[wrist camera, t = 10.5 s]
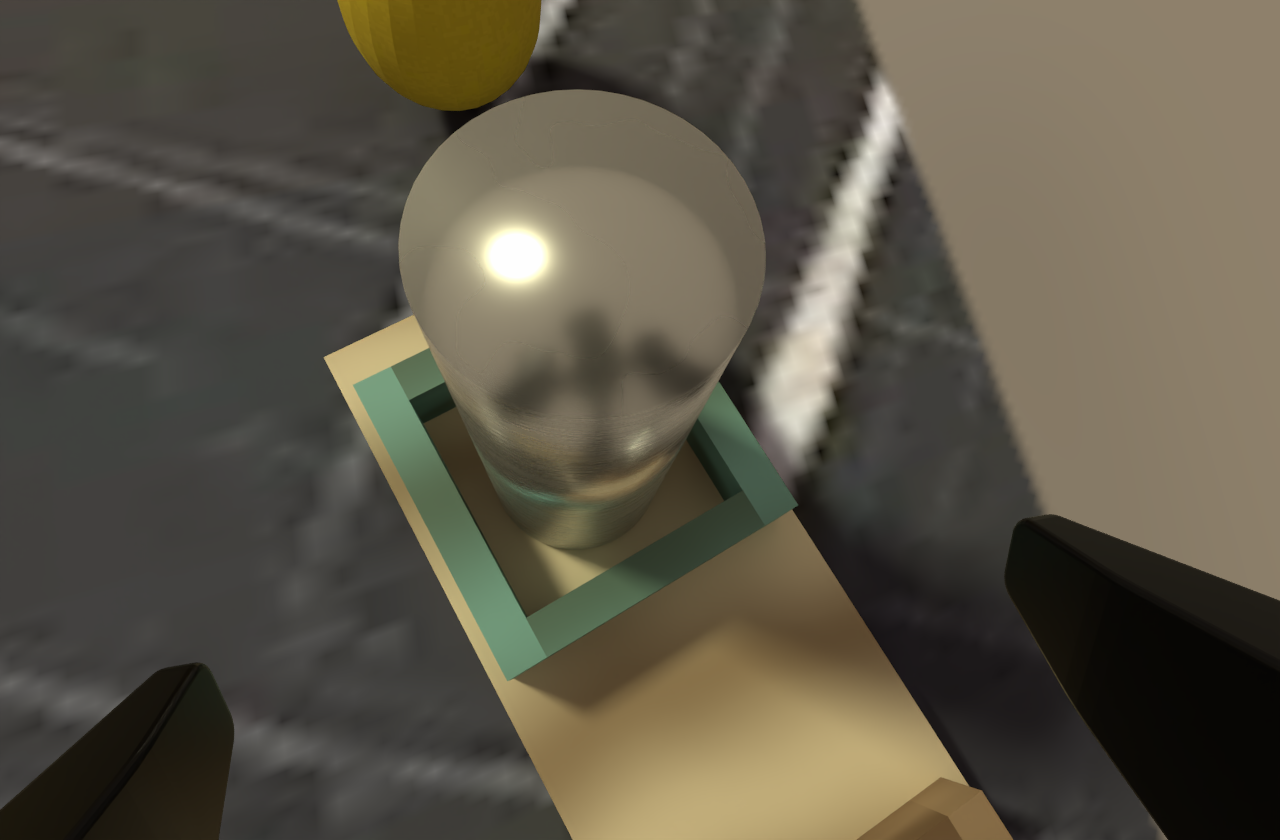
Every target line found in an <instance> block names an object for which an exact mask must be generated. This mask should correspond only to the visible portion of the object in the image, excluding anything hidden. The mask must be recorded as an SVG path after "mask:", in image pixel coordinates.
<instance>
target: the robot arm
mask: <svg viewBox="0 0 1280 840" xmlns="http://www.w3.org/2000/svg"><path fill="white" fill-rule="evenodd" d="M1004 577H1005V585H1006V589H1007V592H1008V594H1009V596H1010V598H1011V600H1012V601H1013V603H1014V605H1015V607H1016V608H1017V610H1018V612H1019V614H1020V615H1021V617H1022V619H1023V621H1024V622H1025V624H1026V626H1027V627H1028V629H1029V631H1030V633H1031V634H1032V636H1033V638H1034V640H1035V641H1036V643H1037V645H1038V647H1039V648H1040V650H1041V652H1042V653H1043V655H1044V657H1045V659H1046V660H1047V662H1048V664H1049V666H1050V667H1051V669H1052V671H1053V673H1054V674H1055V676H1056V678H1057V680H1058V681H1059V683H1060V685H1061V686H1062V688H1063V690H1064V691H1065V693H1066V695H1067V696H1068V698H1069V700H1070V701H1071V703H1072V704H1073V706H1074V708H1075V709H1076V711H1077V712H1078V714H1079V715H1080V717H1081V718H1082V719H1083V721H1084V722H1085V724H1086V725H1087V727H1088V728H1089V730H1090V731H1091V733H1092V734H1093V735H1094V737H1095V738H1096V740H1097V741H1098V742H1099V744H1100V745H1101V747H1102V748H1103V749H1104V751H1105V752H1106V754H1107V755H1108V756H1109V758H1110V759H1111V761H1112V762H1113V763H1114V765H1115V766H1116V768H1117V769H1118V770H1119V772H1120V773H1121V775H1122V776H1123V777H1124V779H1125V780H1126V782H1127V783H1128V784H1129V786H1130V787H1131V789H1132V790H1133V791H1134V793H1135V794H1136V796H1137V797H1138V798H1139V800H1140V801H1141V803H1142V804H1143V805H1144V807H1145V808H1146V810H1147V811H1148V812H1149V814H1150V815H1151V817H1152V818H1153V819H1154V821H1155V822H1156V824H1157V825H1158V826H1159V828H1160V829H1161V831H1162V832H1163V833H1164V835H1165V836H1166V838H1167V839H1168V840H1280V601H1279V600H1277V599H1274V598H1271V597H1269V596H1266V595H1264V594H1261V593H1258V592H1256V591H1253V590H1250V589H1248V588H1245V587H1243V586H1240V585H1237V584H1235V583H1232V582H1230V581H1227V580H1225V579H1222V578H1219V577H1216V576H1214V575H1211V574H1209V573H1206V572H1204V571H1201V570H1199V569H1196V568H1193V567H1191V566H1188V565H1186V564H1183V563H1180V562H1178V561H1175V560H1173V559H1170V558H1167V557H1165V556H1162V555H1160V554H1157V553H1154V552H1151V551H1149V550H1146V549H1144V548H1141V547H1139V546H1136V545H1133V544H1131V543H1128V542H1126V541H1123V540H1120V539H1118V538H1115V537H1113V536H1110V535H1107V534H1105V533H1102V532H1100V531H1097V530H1094V529H1092V528H1089V527H1087V526H1084V525H1081V524H1079V523H1076V522H1073V521H1071V520H1068V519H1066V518H1063V517H1061V516H1058V515H1052V514H1049V515H1042V516H1036V517H1030V518H1025V519H1022V520H1020V521H1019V522H1018V523H1017V524H1016V525H1015V527H1014V530H1013V534H1012V539H1011V544H1010V548H1009V553H1008V558H1007V563H1006V568H1005V574H1004ZM233 742H234V724H233V719H232V716H231V713H230V711H229V709H228V707H227V705H226V702H225V700H224V698H223V696H222V694H221V692H220V689H219V687H218V685H217V683H216V681H215V679H214V676H213V674H212V672H211V671H210V669H209V668H208V667H207V666H206V665H205V664H203V663H190V664H184V665H179V666H173V667H167V668H164V669H161V670H159V671H157V672H156V673H154V674H153V675H152V676H150V677H149V678H148V679H147V680H146V681H145V682H144V683H143V684H141V685H140V686H139V687H138V688H137V689H136V690H135V691H134V692H132V693H131V694H130V695H129V696H128V697H127V698H126V699H125V700H123V701H122V702H121V703H120V704H119V705H118V706H117V707H116V708H114V709H113V710H112V711H111V712H110V713H109V714H108V715H107V716H105V717H104V718H103V719H102V720H101V721H100V722H99V723H98V724H96V725H95V726H94V727H93V728H92V729H91V730H90V731H88V732H87V733H86V734H85V735H84V736H83V737H82V738H81V739H79V740H78V741H77V742H76V743H75V744H74V745H73V746H72V747H70V748H69V749H68V750H67V751H66V752H65V753H64V754H63V755H61V756H60V757H59V758H58V759H57V760H56V761H55V762H54V763H52V764H51V765H50V766H49V767H48V768H47V769H46V770H45V771H43V772H42V773H41V774H40V775H39V776H38V777H37V778H35V779H34V780H33V781H32V782H31V783H30V784H29V785H28V786H26V787H25V788H24V789H23V790H22V791H21V792H20V793H19V794H17V795H16V796H15V797H14V798H13V799H12V800H11V801H10V802H8V803H7V804H6V805H5V806H4V807H3V808H2V809H1V810H0V840H218V839H219V833H220V826H221V820H222V814H223V807H224V801H225V794H226V788H227V781H228V775H229V768H230V762H231V755H232V749H233Z"/></svg>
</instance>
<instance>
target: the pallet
mask: <svg viewBox="0 0 1280 840" xmlns="http://www.w3.org/2000/svg"><path fill="white" fill-rule="evenodd" d="M324 359H325V361H326V363H327V365H328V367H329V369H330V370H331V372H332V374H333V376H334V378H335V380H336V382H337V384H338V386H339V388H340V390H341V392H342V394H343V396H344V398H345V400H346V401H347V403H348V405H349V407H350V409H351V411H352V413H353V415H354V417H355V419H356V421H357V423H358V425H359V427H360V429H361V430H362V432H363V434H364V436H365V438H366V440H367V442H368V444H369V446H370V448H371V450H372V452H373V454H374V456H375V458H376V460H377V461H378V463H379V465H380V467H381V469H382V471H383V473H384V475H385V477H386V479H387V481H388V483H389V485H390V487H391V489H392V490H393V492H394V494H395V496H396V498H397V500H398V502H399V504H400V506H401V508H402V510H403V512H404V514H405V516H406V518H407V520H408V521H409V523H410V525H411V527H412V529H413V531H414V533H415V535H416V537H417V539H418V541H419V543H420V545H421V547H422V549H423V550H424V552H425V554H426V556H427V558H428V560H429V562H430V564H431V566H432V568H433V570H434V572H435V574H436V576H437V578H438V580H439V581H440V583H441V585H442V587H443V589H444V591H445V593H446V595H447V597H448V599H449V601H450V603H451V605H452V607H453V609H454V611H455V612H456V614H457V616H458V618H459V620H460V622H461V624H462V626H463V628H464V630H465V632H466V634H467V636H468V638H469V640H470V641H471V643H472V645H473V647H474V649H475V651H476V653H477V655H478V657H479V659H480V661H481V663H482V665H483V667H484V669H485V671H486V672H487V674H488V676H489V678H490V680H491V682H492V684H493V686H494V688H495V690H496V692H497V694H498V696H499V698H500V700H501V701H502V703H503V705H504V707H505V709H506V711H507V713H508V715H509V717H510V719H511V721H512V723H513V725H514V727H515V729H516V731H517V732H518V734H519V736H520V738H521V740H522V742H523V744H524V746H525V748H526V750H527V752H528V754H529V756H530V758H531V760H532V761H533V763H534V765H535V767H536V769H537V771H538V773H539V775H540V777H541V779H542V781H543V783H544V785H545V787H546V789H547V791H548V792H549V794H550V796H551V798H552V800H553V802H554V804H555V806H556V808H557V810H558V812H559V814H560V816H561V818H562V820H563V822H564V823H565V825H566V827H567V829H568V831H569V833H570V835H571V837H572V839H573V840H1013V838H1012V837H1011V835H1010V834H1009V832H1008V831H1007V829H1006V828H1005V826H1004V824H1003V823H1002V821H1001V820H1000V818H999V817H998V815H997V814H996V812H995V810H994V809H993V807H992V806H991V804H990V803H989V801H988V800H987V798H986V796H985V795H984V793H983V792H982V790H978V789H975V788H972V787H969V785H968V784H967V782H966V780H965V779H964V777H963V776H962V774H961V773H960V771H959V769H958V768H957V766H956V765H955V763H954V762H953V760H952V759H951V757H950V755H949V754H948V752H947V751H946V749H945V748H944V746H943V744H942V743H941V741H940V740H939V738H938V737H937V735H936V734H935V732H934V730H933V729H932V727H931V726H930V724H929V723H928V721H927V719H926V718H925V716H924V715H923V713H922V712H921V710H920V709H919V707H918V705H917V704H916V702H915V701H914V699H913V698H912V696H911V694H910V693H909V691H908V690H907V688H906V687H905V685H904V684H903V682H902V680H901V679H900V677H899V676H898V674H897V673H896V671H895V669H894V668H893V666H892V665H891V663H890V662H889V660H888V659H887V657H886V655H885V654H884V652H883V651H882V649H881V648H880V646H879V644H878V643H877V641H876V640H875V638H874V637H873V635H872V634H871V632H870V630H869V629H868V627H867V626H866V624H865V623H864V621H863V619H862V618H861V616H860V615H859V613H858V612H857V610H856V609H855V607H854V605H853V604H852V602H851V601H850V599H849V598H848V596H847V594H846V593H845V591H844V590H843V588H842V587H841V585H840V584H839V582H838V580H837V579H836V577H835V576H834V574H833V573H832V571H831V569H830V568H829V566H828V565H827V563H826V562H825V560H824V559H823V557H822V555H821V554H820V552H819V551H818V549H817V548H816V546H815V544H814V543H813V541H812V540H811V538H810V537H809V535H808V534H807V532H806V530H805V529H804V527H803V526H802V524H801V523H800V521H799V519H798V518H797V516H796V515H795V513H794V512H793V510H792V509H793V508H795V507H796V506H798V504H797V502H796V501H795V499H794V498H793V496H792V495H791V493H790V491H789V490H788V488H787V487H786V485H785V484H784V482H783V481H782V479H781V477H780V476H779V474H778V473H777V471H776V470H775V468H774V467H773V465H772V463H771V462H770V460H769V459H768V457H767V456H766V454H765V453H764V451H763V449H762V448H761V446H760V445H759V443H758V442H757V440H756V439H755V437H754V435H753V434H752V432H751V431H750V429H749V428H748V426H747V425H746V423H745V421H744V420H743V418H742V417H741V415H740V414H739V412H738V411H737V409H736V407H735V406H734V404H733V403H732V401H731V400H730V398H729V397H728V395H727V393H726V392H725V390H724V389H723V387H722V386H721V384H720V383H719V381H718V383H717V384H716V386H715V388H714V390H713V392H712V393H711V395H710V397H709V399H708V401H707V402H706V404H705V406H704V408H703V410H702V411H701V413H700V415H699V417H698V419H697V420H696V422H695V424H694V426H693V428H692V429H691V431H690V433H689V435H688V437H687V438H686V440H685V442H684V444H683V445H682V447H681V449H680V451H679V453H678V454H677V456H676V458H675V460H674V462H673V463H672V465H671V467H670V469H669V471H668V472H667V474H666V476H665V478H664V480H663V481H662V483H661V485H660V487H659V489H658V490H657V492H656V494H655V496H654V498H653V499H652V501H651V503H650V505H649V507H648V508H647V510H646V512H645V513H644V515H643V516H642V517H641V519H640V520H639V521H638V522H637V523H636V524H635V525H634V526H633V527H632V528H631V529H630V530H629V531H628V532H627V533H625V534H624V535H623V536H621V537H619V538H618V539H616V540H614V541H612V542H610V543H607V544H605V545H603V546H599V547H595V548H591V549H583V550H568V549H560V548H556V547H552V546H549V545H546V544H544V543H541V542H539V541H537V540H535V539H534V538H532V537H530V536H529V535H527V534H526V533H525V532H523V531H522V530H521V529H520V528H519V527H518V526H517V525H516V524H515V523H514V522H513V521H512V520H511V518H510V517H509V516H508V514H507V513H506V511H505V509H504V508H503V506H502V504H501V502H500V500H499V498H498V495H497V493H496V491H495V489H494V487H493V485H492V482H491V480H490V478H489V476H488V474H487V472H486V469H485V467H484V465H483V463H482V461H481V459H480V456H479V454H478V452H477V450H476V448H475V446H474V444H473V441H472V439H471V437H470V435H469V433H468V431H467V428H466V426H465V424H464V422H463V420H462V418H461V415H460V413H459V411H458V409H457V407H456V405H455V403H454V400H453V398H452V396H451V394H450V392H449V390H448V387H447V385H446V383H445V381H444V379H443V377H442V374H441V372H440V370H439V368H438V366H437V364H436V361H435V359H434V357H433V355H432V353H431V351H430V349H429V346H428V344H427V342H426V340H425V338H424V336H423V333H422V331H421V329H420V327H419V325H418V323H417V320H416V318H415V316H414V315H412V316H410V317H408V318H406V319H404V320H402V321H400V322H398V323H395V324H393V325H391V326H389V327H387V328H385V329H383V330H381V331H378V332H376V333H374V334H372V335H370V336H368V337H366V338H364V339H362V340H359V341H357V342H355V343H353V344H351V345H349V346H347V347H345V348H343V349H340V350H338V351H336V352H334V353H332V354H330V355H328V356H326V357H324Z"/></svg>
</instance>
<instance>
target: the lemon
mask: <svg viewBox="0 0 1280 840" xmlns="http://www.w3.org/2000/svg"><path fill="white" fill-rule="evenodd" d="M338 3H339V7H340V10H341V13H342V16H343V19H344V22H345V25H346V27H347V30H348V32H349V34H350V36H351V38H352V40H353V42H354V43H355V45H356V47H357V48H358V50H359V51H360V53H361V54H362V56H363V57H364V58H365V60H366V61H367V63H368V64H369V65H370V67H371V68H372V69H373V71H374V72H375V73H376V74H377V76H379V77H380V78H381V79H382V80H383V81H384V82H385V83H386V84H388V85H389V86H390V87H391V88H393V89H394V90H395V91H396V92H397V93H399V94H400V95H402V96H404V97H405V98H407V99H410V100H412V101H414V102H416V103H418V104H420V105H422V106H426V107H430V108H434V109H439V110H443V111H462V110H468V109H473V108H478V107H480V106H482V105H485V104H487V103H489V102H492V101H494V100H495V99H497V98H498V97H499V96H501V95H502V94H503V93H505V92H506V91H507V90H509V89H510V88H511V86H512V85H513V84H514V83H515V82H516V80H517V79H518V78H519V77H520V75H521V74H522V73H523V72H524V70H525V68H526V66H527V64H528V62H529V60H530V57H531V55H532V52H533V50H534V47H535V44H536V41H537V38H538V33H539V25H540V12H541V0H338Z"/></svg>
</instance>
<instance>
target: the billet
mask: <svg viewBox="0 0 1280 840" xmlns="http://www.w3.org/2000/svg"><path fill="white" fill-rule="evenodd" d="M398 246H399V264H400V272H401V276H402V281H403V286H404V290H405V293H406V296H407V298H408V301H409V304H410V307H411V309H412V312H413V314H414V316H415V318H416V320H417V323H418V325H419V327H420V329H421V331H422V333H423V336H424V338H425V340H426V342H427V344H428V346H429V349H430V351H431V353H432V355H433V357H434V359H435V361H436V364H437V366H438V368H439V370H440V372H441V374H442V377H443V379H444V381H445V383H446V385H447V387H448V390H449V392H450V394H451V396H452V398H453V400H454V403H455V405H456V407H457V409H458V411H459V413H460V415H461V418H462V420H463V422H464V424H465V426H466V428H467V431H468V433H469V435H470V437H471V439H472V441H473V444H474V446H475V448H476V450H477V452H478V454H479V456H480V459H481V461H482V463H483V465H484V467H485V469H486V472H487V474H488V476H489V478H490V480H491V482H492V485H493V487H494V489H495V491H496V493H497V495H498V498H499V500H500V502H501V504H502V506H503V508H504V509H505V511H506V513H507V514H508V516H509V517H510V518H511V520H512V521H513V522H514V523H515V524H516V525H517V526H518V527H519V528H520V529H521V530H522V531H523V532H525V533H526V534H527V535H529V536H530V537H532V538H534V539H535V540H537V541H539V542H541V543H544V544H546V545H549V546H552V547H556V548H560V549H568V550H583V549H591V548H595V547H599V546H603V545H605V544H607V543H610V542H612V541H614V540H616V539H618V538H619V537H621V536H623V535H624V534H625V533H627V532H628V531H629V530H630V529H631V528H632V527H633V526H634V525H635V524H636V523H637V522H638V521H639V520H640V519H641V517H642V516H643V515H644V513H645V512H646V510H647V508H648V507H649V505H650V503H651V501H652V499H653V498H654V496H655V494H656V492H657V490H658V489H659V487H660V485H661V483H662V481H663V480H664V478H665V476H666V474H667V472H668V471H669V469H670V467H671V465H672V463H673V462H674V460H675V458H676V456H677V454H678V453H679V451H680V449H681V447H682V445H683V444H684V442H685V440H686V438H687V437H688V435H689V433H690V431H691V429H692V428H693V426H694V424H695V422H696V420H697V419H698V417H699V415H700V413H701V411H702V410H703V408H704V406H705V404H706V402H707V401H708V399H709V397H710V395H711V393H712V392H713V390H714V388H715V386H716V384H717V383H718V381H719V379H720V377H721V375H722V374H723V372H724V370H725V368H726V366H727V365H728V363H729V361H730V359H731V357H732V356H733V354H734V352H735V350H736V348H737V347H738V345H739V343H740V341H741V339H742V338H743V336H744V334H745V332H746V330H747V329H748V327H749V325H750V323H751V321H752V319H753V316H754V314H755V311H756V309H757V306H758V304H759V300H760V296H761V292H762V288H763V284H764V276H765V265H766V254H765V238H764V233H763V228H762V223H761V219H760V216H759V213H758V210H757V207H756V204H755V201H754V199H753V197H752V195H751V193H750V191H749V189H748V187H747V185H746V183H745V181H744V179H743V178H742V176H741V175H740V173H739V172H738V170H737V169H736V167H735V166H734V165H733V163H732V162H731V161H730V160H729V158H728V157H727V156H726V155H725V154H724V153H723V152H722V150H721V149H720V148H719V147H718V146H717V145H716V144H715V143H714V142H712V141H711V140H710V139H709V138H708V137H707V136H706V135H705V134H703V133H702V132H701V131H700V130H698V129H697V128H695V127H694V126H692V125H691V124H690V123H688V122H687V121H685V120H684V119H682V118H680V117H678V116H677V115H675V114H673V113H671V112H669V111H667V110H665V109H663V108H661V107H658V106H656V105H654V104H651V103H649V102H646V101H644V100H640V99H637V98H633V97H630V96H626V95H622V94H617V93H611V92H605V91H596V90H579V89H576V90H556V91H549V92H543V93H537V94H532V95H528V96H525V97H521V98H518V99H514V100H511V101H509V102H506V103H504V104H501V105H499V106H496V107H494V108H492V109H490V110H488V111H486V112H484V113H483V114H481V115H479V116H477V117H475V118H474V119H472V120H470V121H469V122H468V123H466V124H465V125H464V126H462V127H461V128H460V129H458V130H457V131H456V132H454V133H453V134H452V135H451V136H450V137H449V138H448V139H447V140H446V141H445V142H444V143H443V144H442V145H441V146H440V147H439V148H438V149H437V150H436V151H435V153H434V154H433V155H432V156H431V158H430V159H429V160H428V161H427V163H426V164H425V165H424V167H423V169H422V170H421V172H420V174H419V175H418V177H417V179H416V181H415V182H414V184H413V187H412V189H411V192H410V194H409V196H408V199H407V201H406V204H405V208H404V212H403V216H402V220H401V225H400V235H399V245H398Z"/></svg>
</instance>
